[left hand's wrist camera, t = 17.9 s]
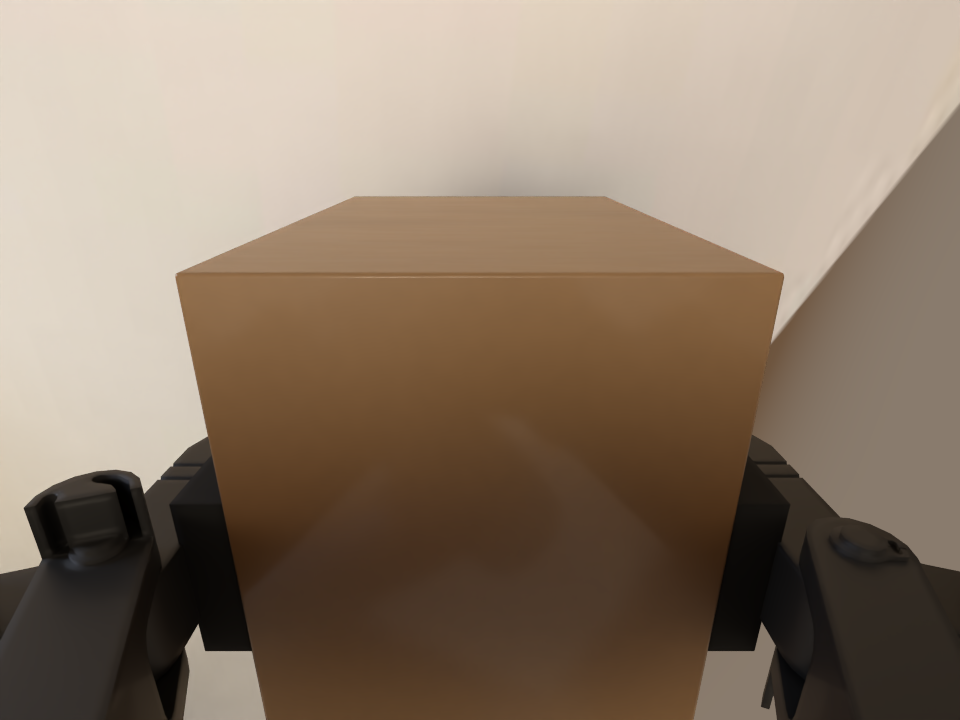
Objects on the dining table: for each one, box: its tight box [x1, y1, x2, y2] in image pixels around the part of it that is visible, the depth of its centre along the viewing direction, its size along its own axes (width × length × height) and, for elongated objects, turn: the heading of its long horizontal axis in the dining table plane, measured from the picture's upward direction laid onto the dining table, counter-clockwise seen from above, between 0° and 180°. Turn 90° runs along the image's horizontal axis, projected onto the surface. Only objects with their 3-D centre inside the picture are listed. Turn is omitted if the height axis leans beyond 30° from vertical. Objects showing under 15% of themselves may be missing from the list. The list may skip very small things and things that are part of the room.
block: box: [175, 197, 784, 720], centre depth 12 cm, size 9×7×10 cm
